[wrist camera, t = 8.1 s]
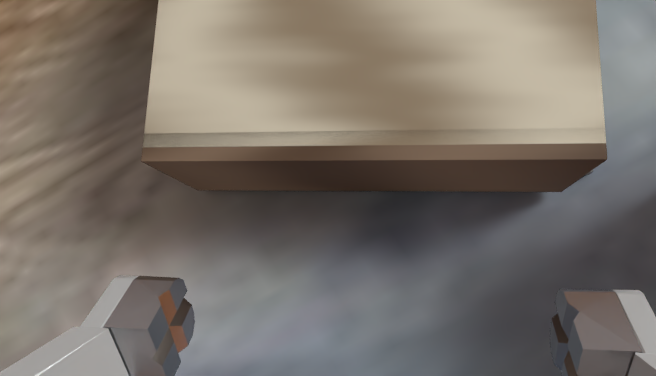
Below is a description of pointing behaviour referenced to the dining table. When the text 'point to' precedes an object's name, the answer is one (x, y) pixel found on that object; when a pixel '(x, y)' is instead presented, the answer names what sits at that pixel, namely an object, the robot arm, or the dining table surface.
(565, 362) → the robot arm
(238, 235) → the dining table surface
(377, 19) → the maple block
